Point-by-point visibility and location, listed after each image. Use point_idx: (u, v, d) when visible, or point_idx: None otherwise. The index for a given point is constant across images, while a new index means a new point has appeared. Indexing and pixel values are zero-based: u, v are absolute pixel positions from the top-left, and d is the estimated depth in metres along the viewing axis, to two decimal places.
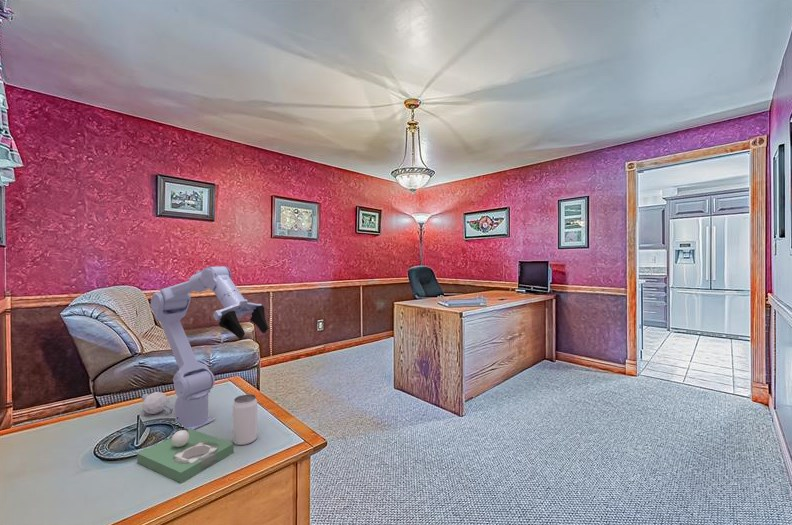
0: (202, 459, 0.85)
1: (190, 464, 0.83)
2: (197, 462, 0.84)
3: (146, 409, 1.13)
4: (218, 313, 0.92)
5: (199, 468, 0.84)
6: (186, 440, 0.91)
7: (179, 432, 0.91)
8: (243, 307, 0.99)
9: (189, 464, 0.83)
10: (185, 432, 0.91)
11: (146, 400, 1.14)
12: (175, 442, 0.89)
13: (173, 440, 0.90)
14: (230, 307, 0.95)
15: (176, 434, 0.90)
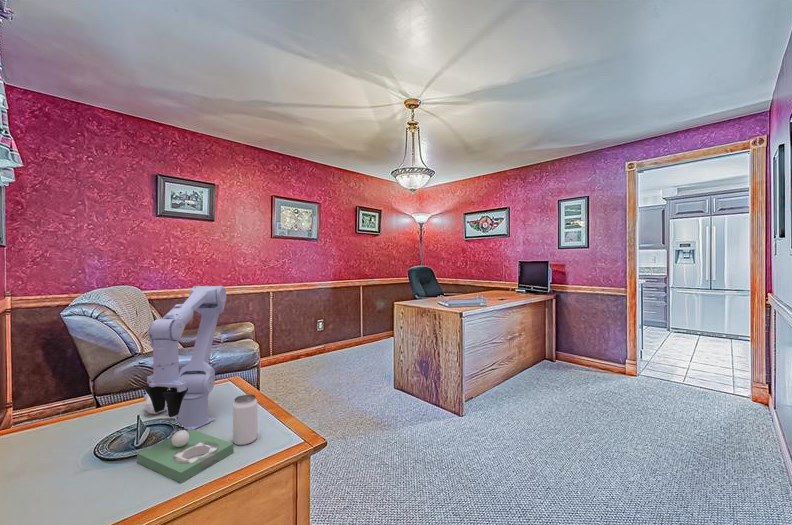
0: (202, 459, 0.85)
1: (190, 464, 0.83)
2: (197, 462, 0.84)
3: (148, 409, 1.13)
4: (147, 380, 0.96)
5: (199, 468, 0.84)
6: (186, 440, 0.91)
7: (179, 432, 0.91)
8: None
9: (189, 464, 0.83)
10: (185, 432, 0.91)
11: (148, 400, 1.14)
12: (175, 442, 0.89)
13: (173, 440, 0.90)
14: (151, 381, 0.94)
15: (176, 434, 0.90)
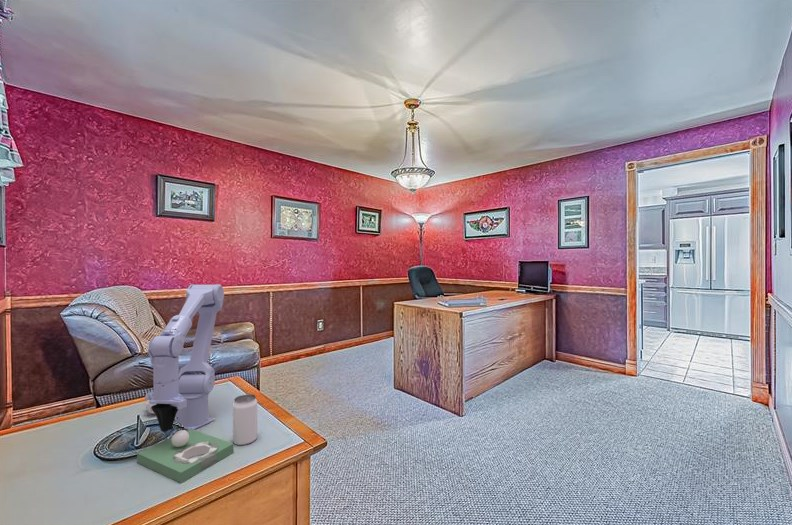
0: (202, 459, 0.85)
1: (190, 464, 0.83)
2: (197, 462, 0.84)
3: (149, 409, 1.13)
4: (147, 396, 0.96)
5: (199, 468, 0.84)
6: (186, 440, 0.91)
7: (179, 432, 0.91)
8: None
9: (189, 464, 0.83)
10: (185, 432, 0.91)
11: (149, 400, 1.14)
12: (175, 442, 0.89)
13: (173, 440, 0.90)
14: (151, 398, 0.94)
15: (176, 434, 0.90)
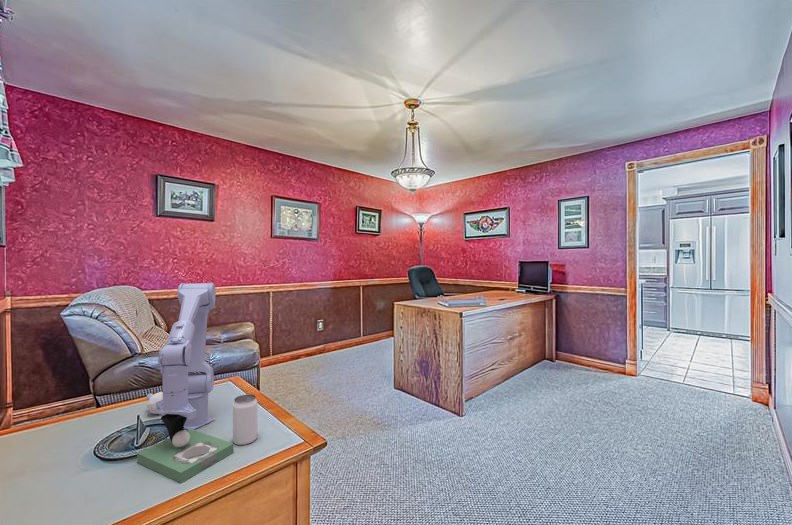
0: (202, 459, 0.85)
1: (190, 464, 0.83)
2: (197, 462, 0.84)
3: (150, 409, 1.13)
4: (156, 406, 0.94)
5: (199, 468, 0.84)
6: (186, 441, 0.91)
7: (180, 433, 0.90)
8: None
9: (189, 464, 0.83)
10: (186, 433, 0.91)
11: (150, 400, 1.14)
12: (176, 443, 0.89)
13: (174, 441, 0.89)
14: (160, 407, 0.92)
15: (177, 435, 0.90)
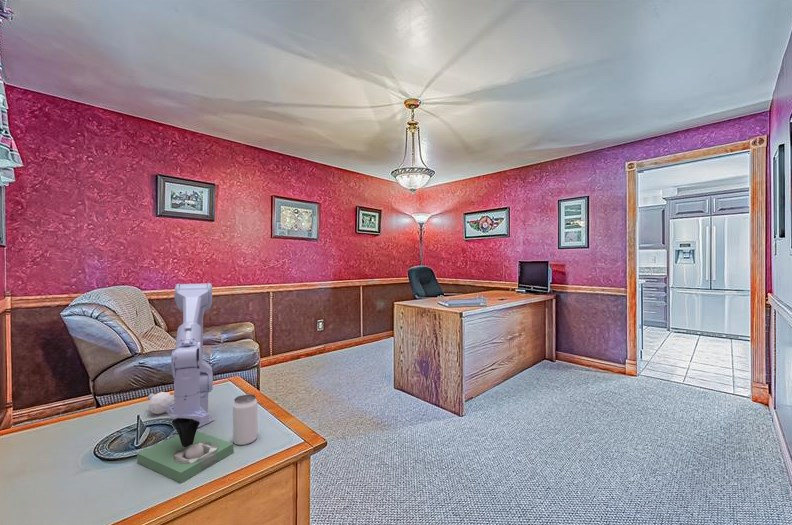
0: (202, 459, 0.85)
1: (190, 464, 0.83)
2: (197, 462, 0.84)
3: (151, 409, 1.13)
4: (167, 410, 0.92)
5: (199, 468, 0.84)
6: None
7: None
8: None
9: (189, 464, 0.83)
10: None
11: (151, 400, 1.14)
12: (185, 454, 0.88)
13: (186, 457, 0.87)
14: (171, 411, 0.90)
15: None
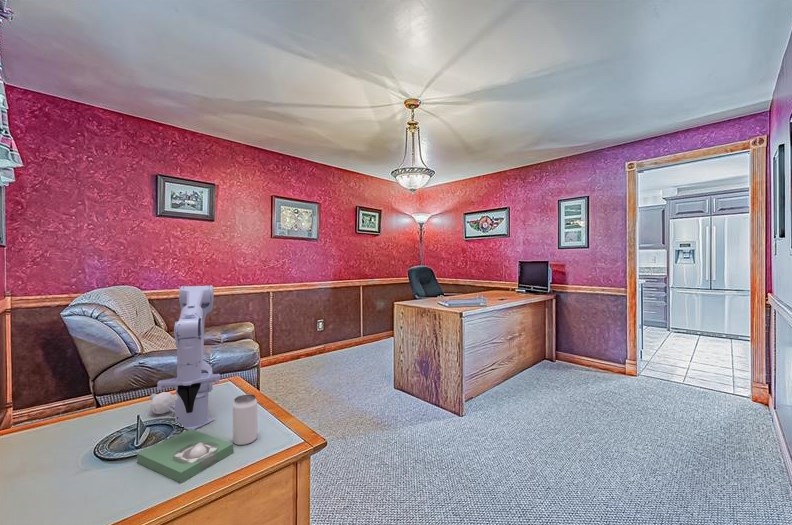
0: (202, 459, 0.85)
1: (190, 464, 0.83)
2: (197, 462, 0.84)
3: (153, 409, 1.13)
4: (158, 386, 0.91)
5: (199, 468, 0.84)
6: None
7: None
8: None
9: (189, 464, 0.83)
10: None
11: (153, 400, 1.14)
12: (189, 453, 0.87)
13: (189, 457, 0.87)
14: (172, 384, 0.92)
15: None
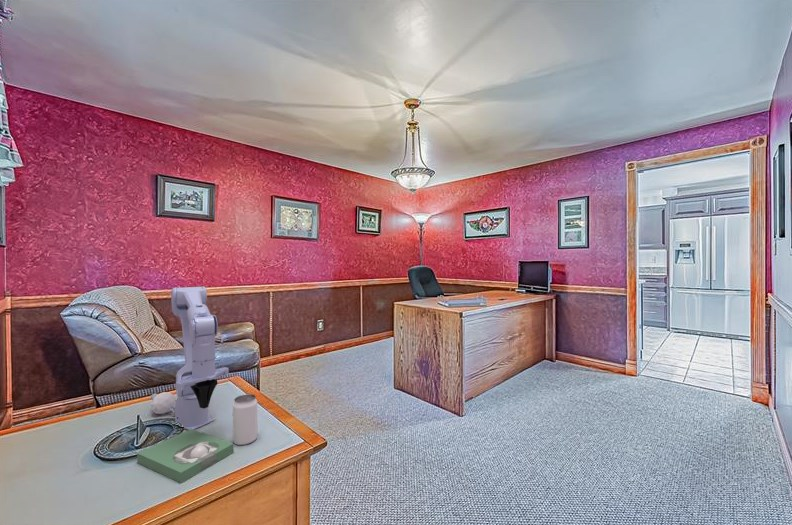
0: (202, 459, 0.85)
1: (190, 464, 0.83)
2: (197, 462, 0.84)
3: (154, 409, 1.13)
4: (181, 387, 0.91)
5: (199, 468, 0.84)
6: (198, 446, 0.89)
7: None
8: None
9: (189, 464, 0.83)
10: None
11: (154, 400, 1.14)
12: (191, 453, 0.87)
13: (190, 457, 0.87)
14: (196, 381, 0.94)
15: None
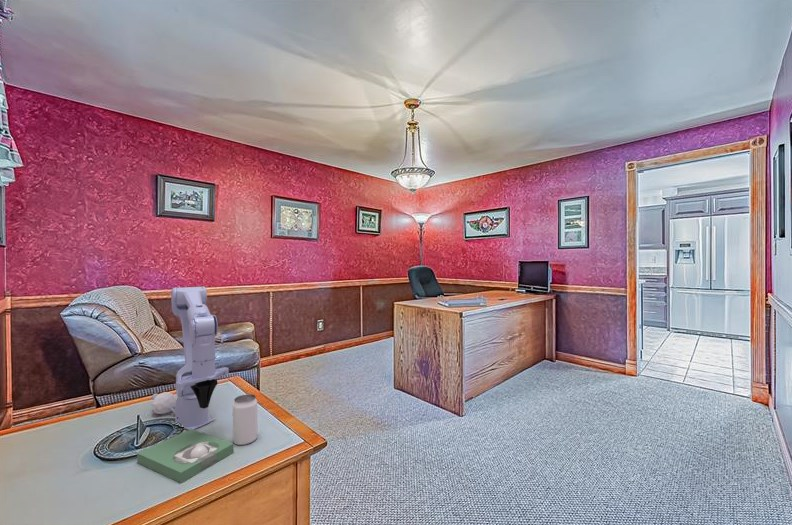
0: (202, 459, 0.85)
1: (190, 464, 0.83)
2: (197, 462, 0.84)
3: (154, 409, 1.13)
4: (181, 387, 0.91)
5: (199, 468, 0.84)
6: None
7: None
8: None
9: (189, 464, 0.83)
10: None
11: (155, 400, 1.14)
12: (191, 453, 0.87)
13: (190, 457, 0.87)
14: (196, 381, 0.94)
15: None
